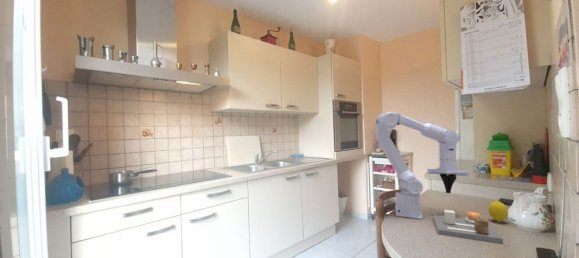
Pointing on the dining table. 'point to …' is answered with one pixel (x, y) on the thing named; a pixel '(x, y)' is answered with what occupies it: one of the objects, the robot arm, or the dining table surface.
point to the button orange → (473, 215)
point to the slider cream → (449, 217)
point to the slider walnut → (481, 226)
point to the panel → (465, 229)
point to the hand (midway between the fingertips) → (448, 192)
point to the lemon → (498, 211)
